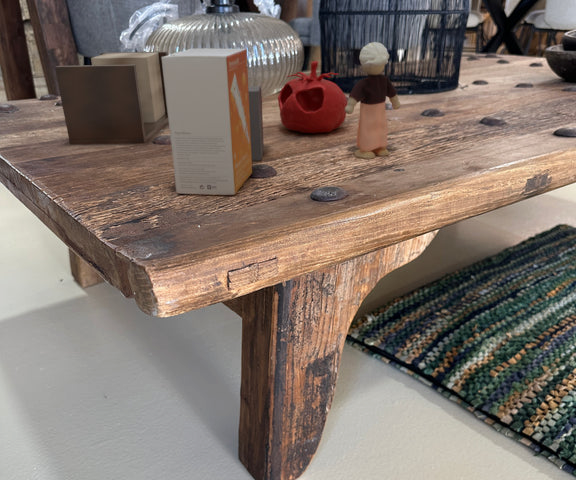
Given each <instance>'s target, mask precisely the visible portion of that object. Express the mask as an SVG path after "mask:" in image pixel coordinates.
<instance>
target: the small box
mask: <svg viewBox="0 0 576 480" xmlns="http://www.w3.org/2000/svg"><path fill="white" fill-rule="evenodd" d="M162 67H163V76H164V85H165V94H166V103H167V112H168V121H169V122H168V128H169V137H170V146H171V155H172V164H173V165H172V166H173V174H174V184H175V192H176V194H184V195H208V196H209V195H210V196H212V195H213V196H235V195H237V193H238V191H239V190H240V189H241V187H242V186H243V184H244V183H246V181H247V180H248V178H250V176H251V175H252V174H253V164H252V163H253V162H252V157H251V136H250V114H249V91H248V86H249V70H248V49H247V48H219V47H217V48H214V47H213V48H211V47H210V48H209V47H208V48H207V47H205V48H201V47H200V48H198V47H197V48H194V47H193V48H188V49H185V50H181V51H176V52H173V53H171V54H167V56H164V57H162Z"/></svg>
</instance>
